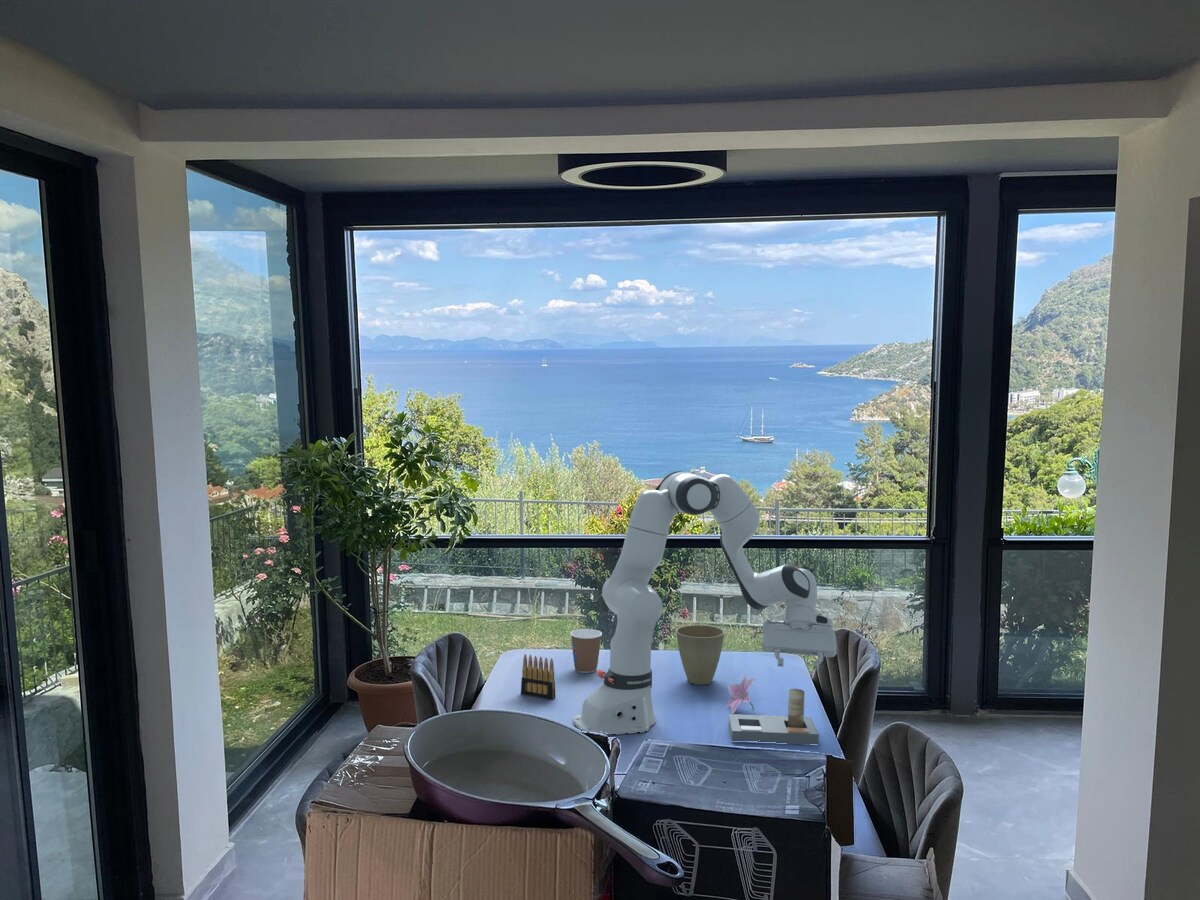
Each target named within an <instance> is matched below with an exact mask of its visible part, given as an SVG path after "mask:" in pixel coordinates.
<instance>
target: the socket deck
mask: <svg viewBox="0 0 1200 900" xmlns="http://www.w3.org/2000/svg"><path fill="white" fill-rule="evenodd" d="M728 729H729V733H730V734H731V735H730V739H731V738H732V740H731V742H732V741H758V742H776V743H787V744H802V745H801V746H804V745H803V744H808V745H807V746H810V745H809V744H819V743H820V741H819V740H820V737H819V736H820V734H819V731H818V729H817V727H816V725H815V723H814V721H813V719H812V717H811V716H804V724H803V728H790V727H788V715H785V716H784V715H767V714H765V715H762V714H759V715H758V714H736V713H735V714H731V713H728ZM759 740H760V741H759ZM735 743H738V744H739V742H735ZM787 744H786V745H787ZM819 745H820V744H819Z"/></svg>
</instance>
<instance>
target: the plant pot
mask: <svg viewBox="0 0 1200 900" xmlns="http://www.w3.org/2000/svg"><path fill="white" fill-rule="evenodd" d="M675 631H676V632H675V633H676V639H677V647H678V652H679V655H680V661H681V665H682V667H683V671H684V672H685V673H684V674H685V676H686V680H687V682H688V683H690V684H692V683H693V685H697V684H699V685H700V686H701V685H702V686H703V685H708V684H711V683H712V682H713V680H714V678H715V677H714V676H715V674H716V671H717V667H718V664H719V662H720V658H721V653H722V649H723V645H724V638H725V631H724V629H722V628H720V627H718V626H713V625H705V624H689V625H684V626H680V627H678V628H676V630H675Z"/></svg>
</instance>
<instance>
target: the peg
mask: <svg viewBox="0 0 1200 900" xmlns="http://www.w3.org/2000/svg"><path fill="white" fill-rule="evenodd" d="M787 708H788V709H787V716H788V727H790V728H803V724H804V717H805V690H803V689H800V688H790V689H789V690H788V707H787Z"/></svg>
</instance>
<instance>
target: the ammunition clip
mask: <svg viewBox="0 0 1200 900" xmlns="http://www.w3.org/2000/svg"><path fill="white" fill-rule="evenodd" d="M522 661H523V663H522V671H521V673H522V674H521V683H520V695H524V696H528V697H529V696H530V697H533V698H534V697H535V698H541V699H545V700H551V701H553V700H554V699H556V681H555V668H554V665H555V664H554V660H553V658H552V657H551V658H550V660H549V661H548V658H547V657H545V658H544V662H543V657H542V656H539V659H538V657H537V655H535V656H534V659H533V658H532V655H531V654H530V655H529V657H528V656H527V653H525V654H524V656H523V659H522Z"/></svg>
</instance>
